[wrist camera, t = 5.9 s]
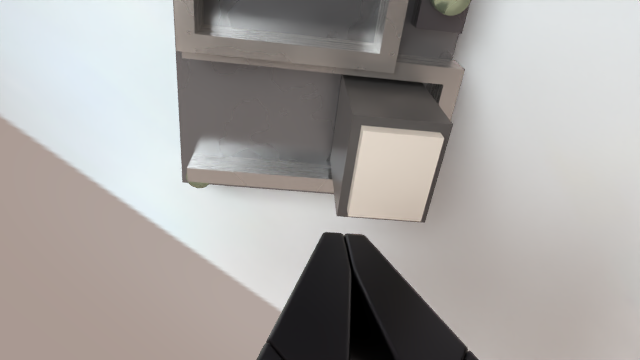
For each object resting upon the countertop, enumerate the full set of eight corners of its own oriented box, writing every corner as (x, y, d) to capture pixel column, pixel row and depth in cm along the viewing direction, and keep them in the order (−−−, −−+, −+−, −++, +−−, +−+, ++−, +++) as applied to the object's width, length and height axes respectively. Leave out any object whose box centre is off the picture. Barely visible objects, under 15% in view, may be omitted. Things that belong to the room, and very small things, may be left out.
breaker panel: (492, -166, 14) (542, -188, 11) (407, 179, 21) (424, 222, 18) (179, -214, 14) (143, -252, 11) (192, 161, 20) (173, 204, 17)
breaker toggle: (421, 81, 16) (457, 129, 13) (401, 165, 18) (427, 229, 14) (342, 73, 16) (354, 120, 12) (330, 159, 18) (337, 223, 14)
